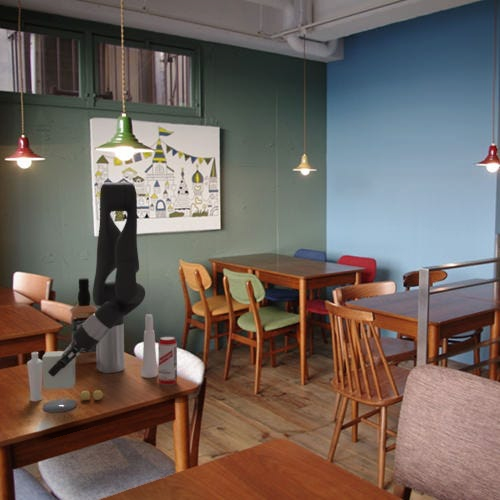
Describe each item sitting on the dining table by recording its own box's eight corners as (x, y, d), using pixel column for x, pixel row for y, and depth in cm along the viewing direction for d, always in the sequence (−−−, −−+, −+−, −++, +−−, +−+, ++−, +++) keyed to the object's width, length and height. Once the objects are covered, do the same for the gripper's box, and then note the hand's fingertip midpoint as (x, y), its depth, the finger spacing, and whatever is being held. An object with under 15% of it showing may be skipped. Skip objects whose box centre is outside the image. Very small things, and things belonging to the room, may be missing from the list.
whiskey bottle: (73, 365, 214) (71, 281, 210) (70, 357, 223) (68, 277, 219) (101, 361, 218) (99, 279, 214) (97, 354, 227) (95, 275, 223)
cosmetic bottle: (143, 372, 206) (142, 312, 204) (159, 372, 206) (159, 313, 203) (139, 377, 200) (138, 316, 198) (156, 378, 200) (155, 316, 197)
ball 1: (78, 400, 178) (78, 391, 178) (85, 397, 181) (85, 388, 180) (85, 402, 176) (84, 393, 176) (92, 399, 179) (92, 390, 179)
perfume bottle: (47, 397, 180) (45, 351, 179) (38, 402, 176) (36, 355, 175) (35, 395, 182) (34, 350, 180) (25, 400, 178) (24, 353, 176)
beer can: (173, 387, 191) (173, 340, 189) (155, 385, 192) (155, 339, 190) (179, 381, 197) (179, 336, 195) (162, 379, 198) (162, 334, 196)
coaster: (39, 413, 168) (39, 411, 168) (46, 400, 177) (46, 399, 177) (74, 411, 169) (74, 410, 169) (79, 399, 179) (79, 398, 179)
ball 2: (90, 400, 179) (90, 390, 178) (98, 397, 181) (97, 388, 181) (97, 402, 177) (97, 392, 177) (104, 399, 179) (104, 389, 179)
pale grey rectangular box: (43, 389, 169) (42, 356, 168) (47, 383, 175) (46, 351, 174) (72, 388, 170) (71, 355, 169) (75, 382, 176) (74, 350, 175)
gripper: (86, 317, 179) (48, 356, 178) (79, 328, 164) (37, 370, 164) (104, 333, 180) (66, 372, 179) (98, 345, 166) (57, 387, 165)
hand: (52, 371), depth 172 cm, fingers closed on pale grey rectangular box, 5 cm apart
